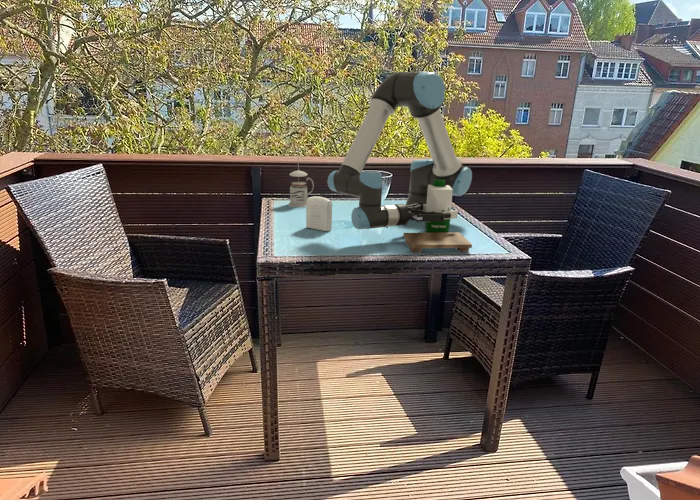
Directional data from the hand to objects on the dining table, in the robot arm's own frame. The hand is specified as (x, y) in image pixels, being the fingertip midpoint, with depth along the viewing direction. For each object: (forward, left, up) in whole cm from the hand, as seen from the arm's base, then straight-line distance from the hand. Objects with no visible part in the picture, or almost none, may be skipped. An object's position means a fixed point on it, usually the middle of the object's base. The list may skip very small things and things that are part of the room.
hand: (447, 210), depth 181 cm
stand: (+12, +12, -9) cm, 19 cm away
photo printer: (+42, -22, -9) cm, 48 cm away
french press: (+36, -62, -9) cm, 72 cm away
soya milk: (+4, 0, -9) cm, 10 cm away
